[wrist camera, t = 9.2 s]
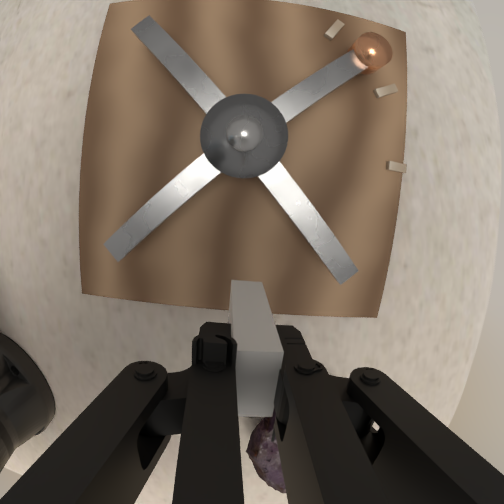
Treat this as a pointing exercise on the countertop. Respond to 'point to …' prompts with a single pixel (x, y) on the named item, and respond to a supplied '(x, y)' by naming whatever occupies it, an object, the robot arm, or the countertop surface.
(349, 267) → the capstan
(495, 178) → the countertop surface
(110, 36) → the board
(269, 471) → the rock
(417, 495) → the robot arm
